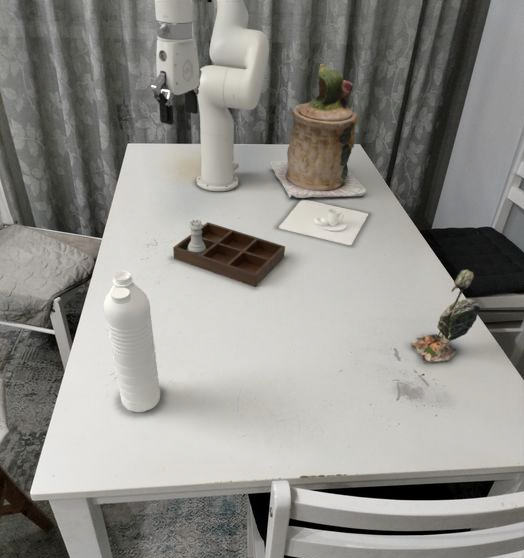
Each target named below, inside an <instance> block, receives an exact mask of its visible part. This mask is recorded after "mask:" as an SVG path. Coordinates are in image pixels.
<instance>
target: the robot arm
mask: <svg viewBox="0 0 524 558" xmlns="http://www.w3.org/2000/svg"><path fill="white" fill-rule="evenodd" d="M193 6H194V5H193V0H154V9H155V10H154V11H155V12H154V13H155V23H156V24H155V25H156V39H157V40H156V51H155V53H156V54H155V55H156V56H155V57H156V58H155V59H156V61H155V63H156V78H155V80H154V81H153V83H152V84H151V85H150V88H151V91H152V93H153V97H154V100H156V103H157V104H158V107H159V108H158V109H159V120H160V123H163V124H165V125H170V126H172V125H174V108H173V105H172V101H173V97H174V96H180V95H184V107H185V108H184V111H185V112H186V113H190V114H195V115H196V114H197V115H198V113H199V126H200V128H199V130H200V132H199V133H200V134H199V135H200V161H201V162H200V164H201V165H200V167H201V172H200V174H199V175H198V176H197V177H196V184H197V186H198V187H200V188H202V189H203V190H206V191H211V192H228V191H231V190H234V189H236V188H237V187H238V185H239V179H238V177H237V176H236V175H235V173H234V172H235V170H237V169H238V168H239V167H240V164H239V162H238V161H234V159H235V158H234V154H235V153H234V152H235V151H234V150H235V145H234V144H235V121H234V118H233V115H232V114H231V112H230V110H229V109H236V110H245V111H252V110H254V109H255V108H256V107H257V106H258V104H259V102H260V98H261V94H262V89H263V86H264V80H265V76H266V71H267V67H268V62H269V58H270V57H269V55H270V42H269V38H268V36H267V35H266V34H265V32H263V31H261V30H258V29H252V28H248V24H249V19H250V18H249V17H250V15H249V11H248V8H247V6H246V4H245V2H244V1H243V0H216V6H217V7H216V8H217V12H216V17H215V21H214V25H213V30H212V34H211V38H210V43H209V53H208V54H209V58H210V60H211V62H212V63H213V64H212V65H210V64H209V65H205V66H202V67H201V68H200V66H199V65H200V64H199V56H198V47H197V42H196V38H195V36H194V12H193V11H194V10H193V9H194V8H193ZM165 95H166V96H165Z"/></svg>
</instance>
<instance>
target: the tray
mask: <svg viewBox="0 0 524 558" xmlns="http://www.w3.org/2000/svg"><path fill="white" fill-rule="evenodd" d="M202 225H203V228H202V229H201V230H202V241H203V242H204V244H205V246H206V251H205V252H203V253H202V254H201V255H199V254H196V253H193V252H190V251H188V245H189V243H190V241H191V234H189V235H188V236H186V237H185V238H184V239H182V240H181V241H179V242H178V243H177V244H176V245H174V246H173V247H172V251H173V260H176V261H178V262H183V263H185V264H188V265H190V266H194V267H197V268H199V269H201V270H206V271H207V272H211V273H214V274H217V275H220V276H222V277H226V278H228V279H231V280H233V281H237V282H240V283H243V284H245V285H248V286H251V287H254V288H257V286H258V285H259V284H260V283H261V282H262V281H263V280H264V279H265V278H266V276H268V275H269V274H270V273H271V271H273V270H274V269H275V268H276V267H277V266H278V264H279V263H280V262H281V261H283V259H284V258H285V253H286V246H285V245H283V244H279V243H275V242H273V241H269V240H265V239H263V238H260V237H256V236H253V235H250V234H247V233H243V232H241V231H237V230H234V229H231V228H227V227H226V226H225V227H224V226H221V225H219V224H215V223H212V222H208V221H207V222H205V223H204V224H202Z"/></svg>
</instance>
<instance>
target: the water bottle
mask: <svg viewBox="0 0 524 558" xmlns="http://www.w3.org/2000/svg"><path fill="white" fill-rule="evenodd" d="M112 283H113V285H112V286H111V288H110V289H109V291H108V292H107V294H106V296H105V298H104V301H103V313H104V317H105V322H106V327H107V332H108V336H109V343H110V347H111V353H112V357H113V358H112V359H113V365H114V369H115V373H116V380H117V385H118V391H119V396H120V400H121V404H122V406H123V407H124V408H125V409H126V410H128V411H130V412H136V413H143V412H147V411H150V410H152V409H154V408H155V407H156V406H157V405H158V404H159V402H160V399H161V389H160V381H159V380H160V379H159V372H158V364H157V363H158V362H157V354H156V346H155V345H156V344H155V340H154V331H153V322H152V314H151V304H150V299H149V298H148V296H147V294H146V292H144V291H143V290H142V289H141V288H140V287H139V286H138V285H136V283H135V282H134V278H133V277H132V275H131V273H130V272H129V271H126V270H120V271H117V272H115V273H114V274H113V279H112Z"/></svg>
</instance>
